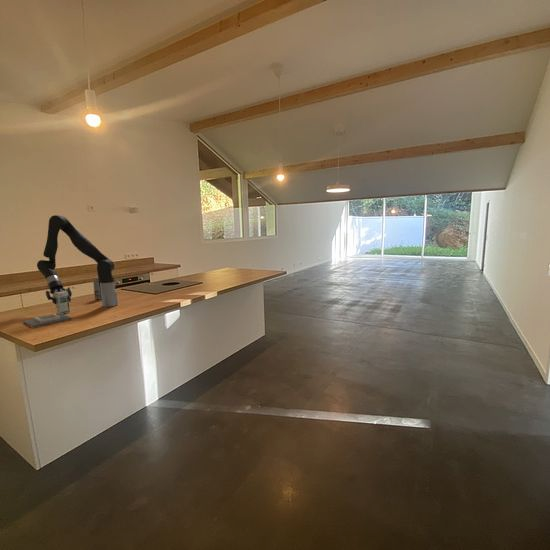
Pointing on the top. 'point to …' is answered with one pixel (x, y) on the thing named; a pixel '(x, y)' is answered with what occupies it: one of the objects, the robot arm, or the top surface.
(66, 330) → the top surface
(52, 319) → the base board
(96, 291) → the coffee box
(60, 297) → the syrup box
